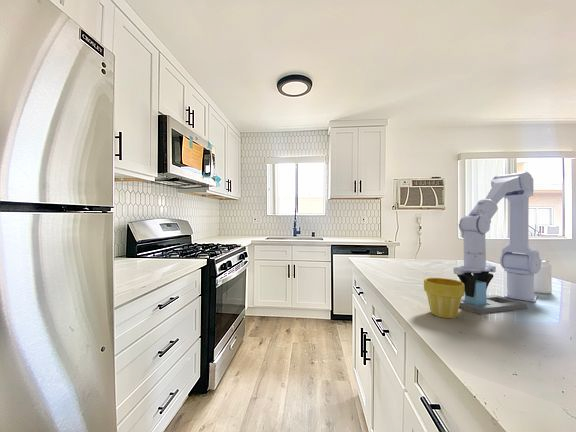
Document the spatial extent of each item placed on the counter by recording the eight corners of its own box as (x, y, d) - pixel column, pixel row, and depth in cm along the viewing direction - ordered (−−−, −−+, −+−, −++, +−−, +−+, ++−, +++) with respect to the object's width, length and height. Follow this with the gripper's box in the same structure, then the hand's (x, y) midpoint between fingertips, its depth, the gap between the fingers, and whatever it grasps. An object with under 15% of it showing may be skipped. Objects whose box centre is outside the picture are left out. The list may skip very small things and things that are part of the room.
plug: (464, 302, 85) (464, 280, 85) (474, 301, 86) (474, 279, 86) (476, 306, 81) (475, 283, 81) (486, 304, 82) (486, 282, 82)
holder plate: (450, 303, 87) (449, 299, 87) (494, 299, 91) (494, 294, 91) (478, 314, 77) (478, 308, 77) (527, 308, 82) (526, 303, 82)
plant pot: (467, 313, 78) (467, 280, 78) (461, 324, 70) (461, 287, 70) (429, 306, 84) (428, 275, 85) (419, 314, 77) (419, 281, 77)
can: (556, 294, 96) (555, 261, 96) (535, 293, 98) (534, 261, 98) (544, 290, 102) (543, 259, 102) (524, 289, 104) (523, 258, 104)
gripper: (467, 255, 78) (468, 301, 78) (505, 253, 81) (506, 297, 81) (447, 252, 85) (448, 294, 84) (483, 251, 88) (484, 291, 88)
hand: (475, 295), depth 83 cm, fingers closed on plug, 4 cm apart
